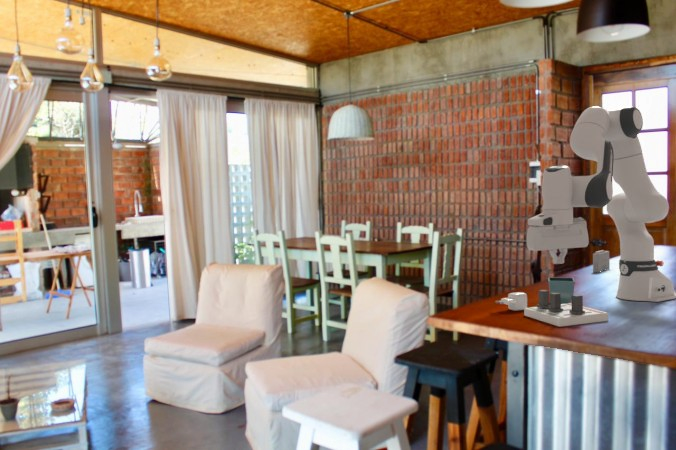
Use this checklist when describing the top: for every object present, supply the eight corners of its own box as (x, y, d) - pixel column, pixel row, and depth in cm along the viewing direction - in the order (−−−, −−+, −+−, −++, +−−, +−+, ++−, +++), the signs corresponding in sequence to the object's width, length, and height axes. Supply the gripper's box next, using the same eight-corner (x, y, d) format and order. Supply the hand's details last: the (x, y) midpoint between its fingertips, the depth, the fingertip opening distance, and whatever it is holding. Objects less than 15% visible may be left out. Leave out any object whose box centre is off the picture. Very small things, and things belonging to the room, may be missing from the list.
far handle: (545, 306, 196) (544, 289, 195) (551, 307, 193) (550, 290, 192) (536, 307, 195) (536, 290, 194) (542, 308, 192) (542, 291, 191)
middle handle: (556, 309, 190) (556, 292, 190) (562, 311, 187) (562, 293, 187) (548, 310, 189) (547, 293, 189) (554, 312, 186) (554, 294, 186)
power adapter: (502, 313, 200) (502, 296, 200) (493, 310, 204) (493, 294, 204) (529, 309, 204) (528, 293, 203) (520, 307, 208) (519, 291, 208)
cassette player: (603, 268, 295) (603, 248, 294) (609, 268, 293) (609, 249, 292) (593, 272, 283) (592, 252, 283) (598, 272, 281) (598, 252, 281)
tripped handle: (578, 311, 185) (577, 294, 185) (585, 313, 182) (584, 295, 182) (569, 312, 184) (569, 295, 184) (576, 314, 181) (576, 296, 181)
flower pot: (573, 301, 215) (573, 277, 214) (575, 306, 207) (574, 281, 206) (548, 301, 218) (548, 277, 217) (548, 305, 209) (548, 280, 209)
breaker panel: (570, 310, 200) (569, 302, 200) (608, 320, 183) (608, 312, 183) (524, 315, 195) (524, 307, 195) (559, 326, 178) (558, 318, 178)
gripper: (579, 216, 186) (579, 260, 186) (523, 220, 180) (524, 264, 181) (593, 217, 180) (593, 262, 180) (535, 220, 174) (536, 266, 175)
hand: (558, 263), depth 180 cm, fingers closed
